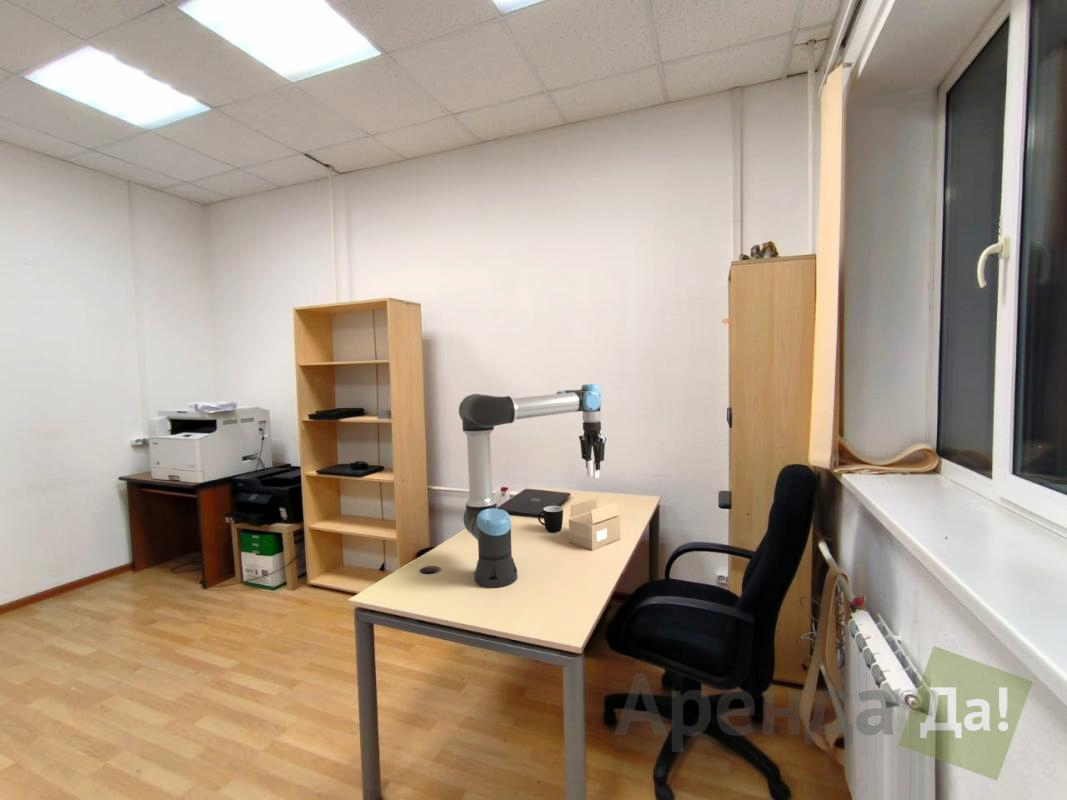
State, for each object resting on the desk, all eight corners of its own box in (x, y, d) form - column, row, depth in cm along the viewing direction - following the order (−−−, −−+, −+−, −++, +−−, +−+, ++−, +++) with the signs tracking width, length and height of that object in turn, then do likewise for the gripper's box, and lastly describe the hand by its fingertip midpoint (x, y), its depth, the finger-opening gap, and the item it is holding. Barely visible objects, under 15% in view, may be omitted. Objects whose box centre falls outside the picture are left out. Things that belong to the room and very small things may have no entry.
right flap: (592, 523, 187) (592, 524, 186) (590, 510, 187) (590, 510, 187) (617, 515, 197) (618, 515, 196) (615, 502, 197) (616, 502, 197)
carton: (591, 551, 186) (590, 526, 185) (568, 542, 196) (567, 519, 195) (621, 539, 198) (620, 515, 197) (598, 531, 208) (597, 509, 207)
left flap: (572, 505, 195) (571, 504, 195) (570, 517, 196) (570, 517, 196) (597, 497, 205) (596, 497, 205) (596, 509, 206) (595, 509, 206)
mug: (566, 528, 214) (565, 506, 213) (559, 535, 206) (558, 512, 205) (542, 525, 219) (541, 504, 218) (534, 531, 211) (533, 509, 210)
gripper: (612, 421, 190) (613, 478, 192) (584, 419, 202) (585, 472, 204) (600, 423, 185) (601, 481, 187) (571, 420, 198) (573, 475, 199)
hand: (593, 476), depth 195 cm, fingers open, 3 cm apart
